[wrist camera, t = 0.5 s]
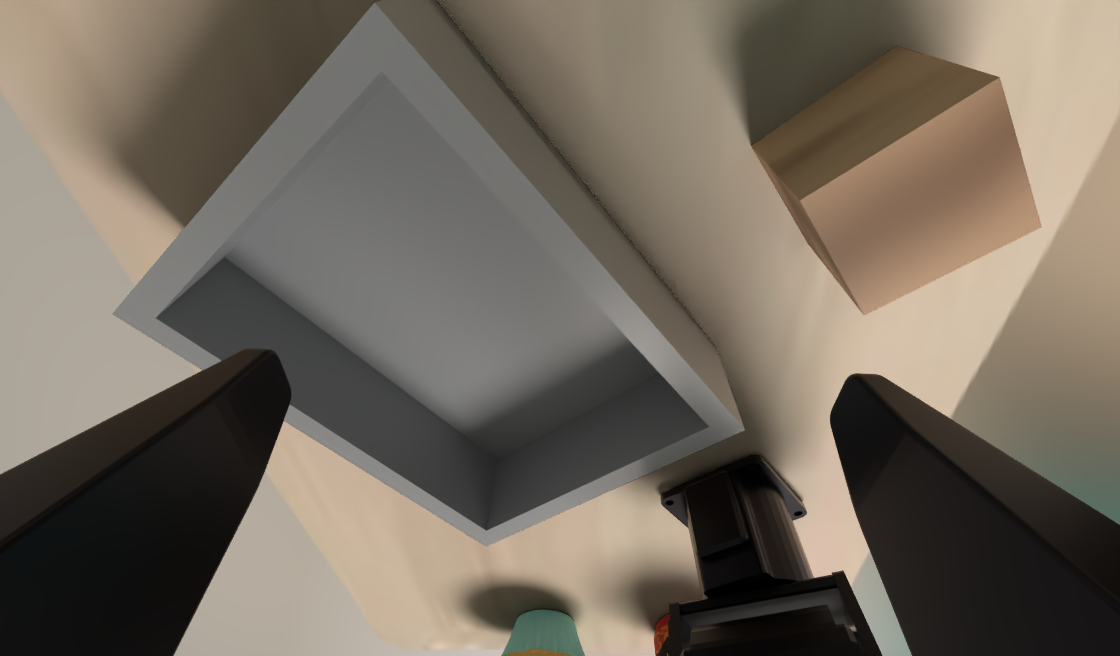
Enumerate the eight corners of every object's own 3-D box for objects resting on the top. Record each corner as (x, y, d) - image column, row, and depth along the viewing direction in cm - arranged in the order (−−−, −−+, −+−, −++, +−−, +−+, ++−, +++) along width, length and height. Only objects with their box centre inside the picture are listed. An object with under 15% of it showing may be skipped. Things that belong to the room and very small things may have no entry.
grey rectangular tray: (716, 348, 24) (745, 430, 20) (498, 464, 29) (485, 546, 25) (426, -12, 15) (374, 2, 11) (200, 244, 21) (112, 314, 17)
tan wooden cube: (940, 166, 18) (1041, 226, 14) (807, 243, 20) (864, 315, 16) (895, 45, 16) (999, 77, 12) (750, 144, 18) (799, 200, 14)
